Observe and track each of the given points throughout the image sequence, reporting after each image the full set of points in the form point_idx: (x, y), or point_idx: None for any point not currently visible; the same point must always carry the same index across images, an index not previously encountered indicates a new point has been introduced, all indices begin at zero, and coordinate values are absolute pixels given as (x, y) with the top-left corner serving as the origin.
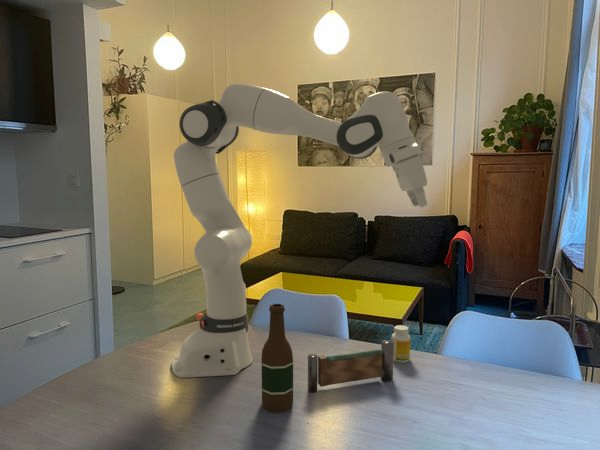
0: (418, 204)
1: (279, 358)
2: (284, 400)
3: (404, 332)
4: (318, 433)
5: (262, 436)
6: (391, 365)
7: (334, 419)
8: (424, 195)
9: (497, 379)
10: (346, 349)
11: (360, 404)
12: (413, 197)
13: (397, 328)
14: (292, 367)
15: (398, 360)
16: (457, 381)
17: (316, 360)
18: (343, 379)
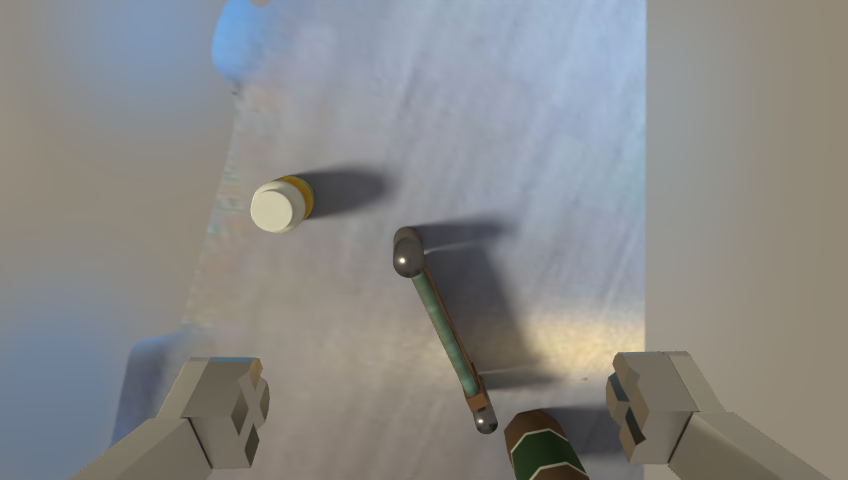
0: (257, 371)
1: None
2: (563, 432)
3: (292, 203)
4: None
5: None
6: (419, 239)
7: (573, 338)
8: (770, 445)
9: None
10: (251, 325)
11: (520, 295)
12: (179, 471)
13: (282, 223)
14: (565, 457)
15: (313, 206)
16: (402, 79)
17: (491, 412)
18: (457, 334)
